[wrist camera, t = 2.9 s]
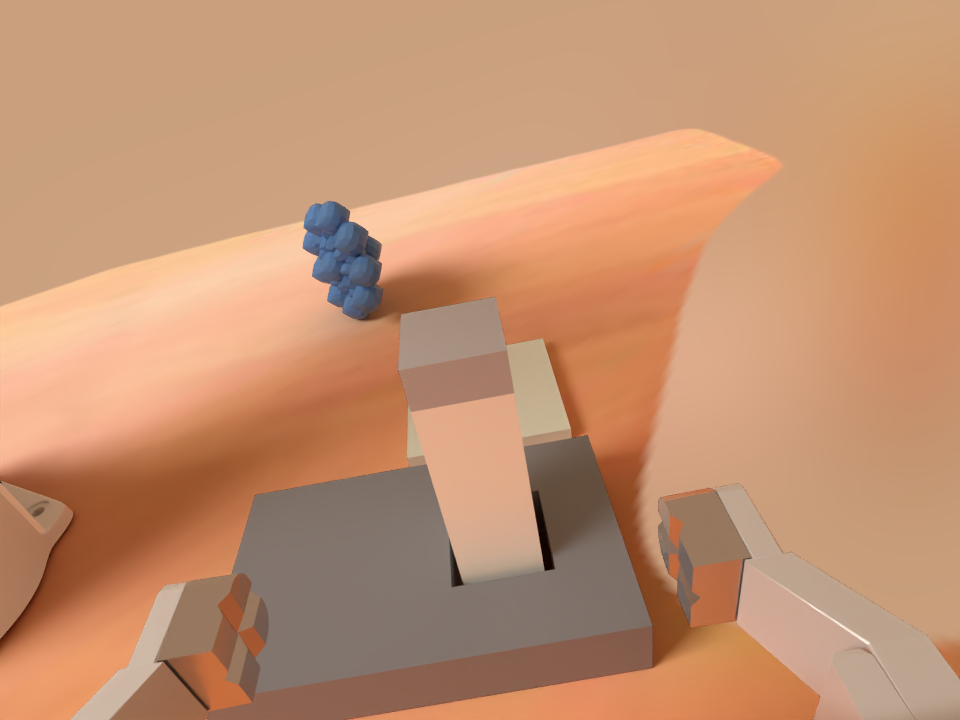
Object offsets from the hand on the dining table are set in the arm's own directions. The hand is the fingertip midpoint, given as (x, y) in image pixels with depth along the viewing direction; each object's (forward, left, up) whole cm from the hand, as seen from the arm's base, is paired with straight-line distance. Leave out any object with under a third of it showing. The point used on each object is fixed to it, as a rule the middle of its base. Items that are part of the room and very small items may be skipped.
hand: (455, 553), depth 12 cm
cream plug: (-8, +9, -19) cm, 22 cm away
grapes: (-36, +27, -19) cm, 49 cm away
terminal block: (-11, +7, -19) cm, 23 cm away
